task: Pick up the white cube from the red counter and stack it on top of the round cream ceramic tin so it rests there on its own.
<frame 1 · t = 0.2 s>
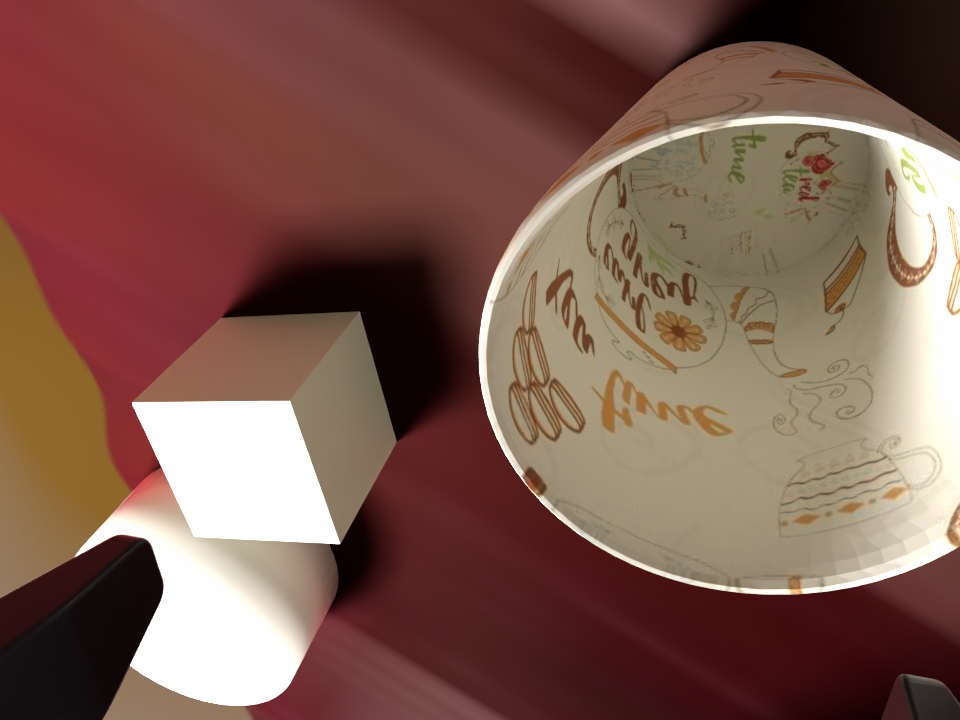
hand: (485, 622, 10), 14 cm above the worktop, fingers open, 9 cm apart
cream tin: (235, 547, 33), on the worktop
white cube: (311, 379, 28), on the worktop
mug: (837, 155, 20), on the worktop
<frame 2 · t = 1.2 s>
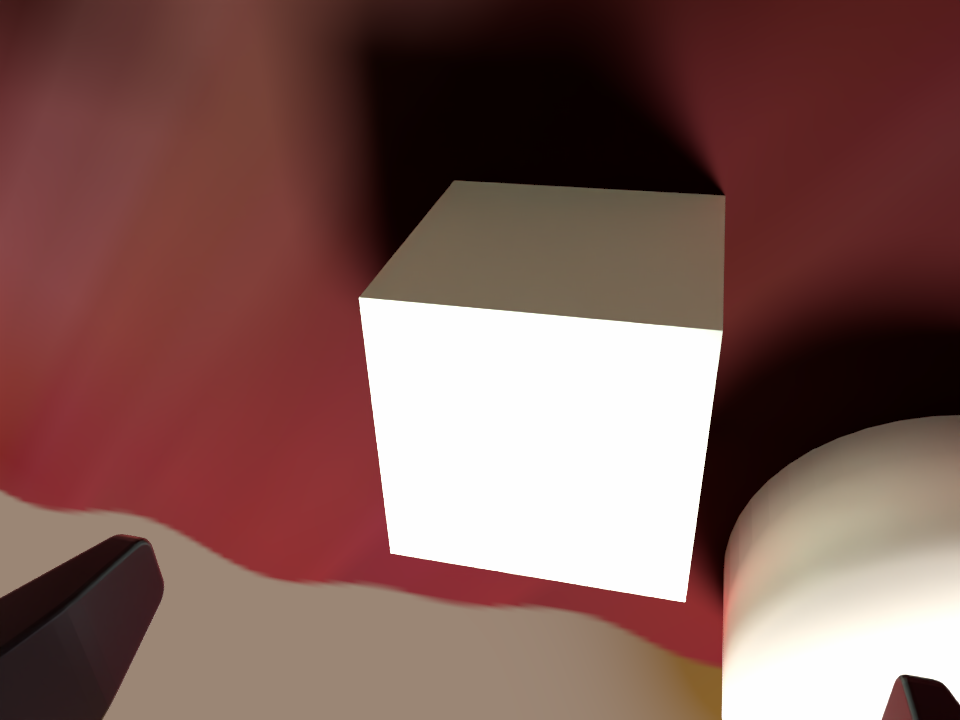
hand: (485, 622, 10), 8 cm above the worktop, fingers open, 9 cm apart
cream tin: (939, 581, 18), on the worktop
white cube: (581, 305, 17), on the worktop
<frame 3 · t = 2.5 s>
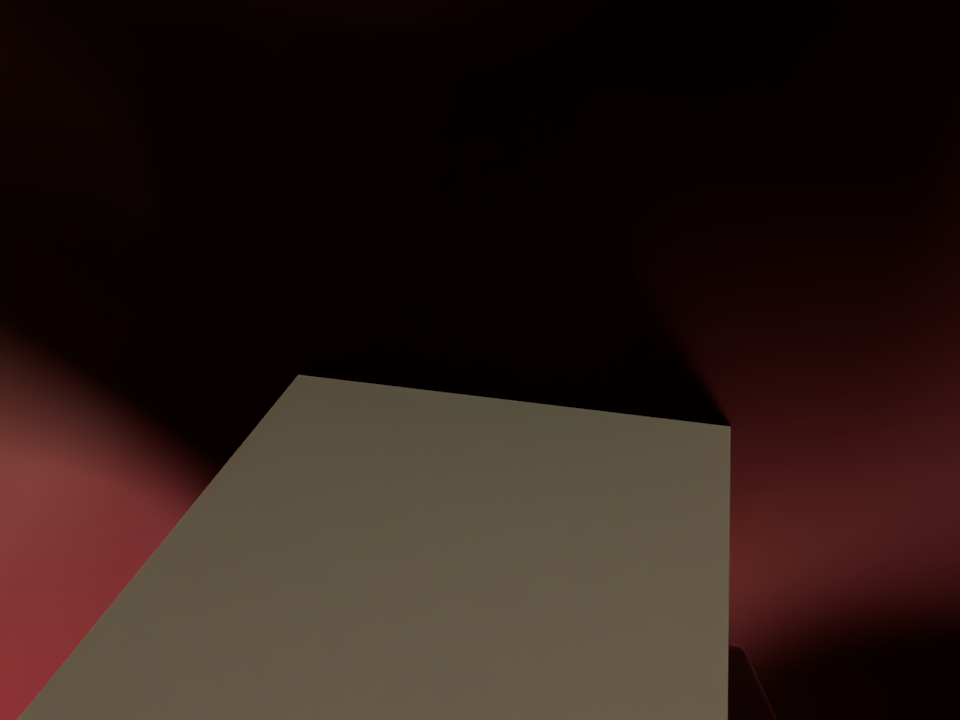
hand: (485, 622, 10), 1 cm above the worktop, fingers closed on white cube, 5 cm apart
white cube: (505, 559, 11), on the worktop, touching gripper
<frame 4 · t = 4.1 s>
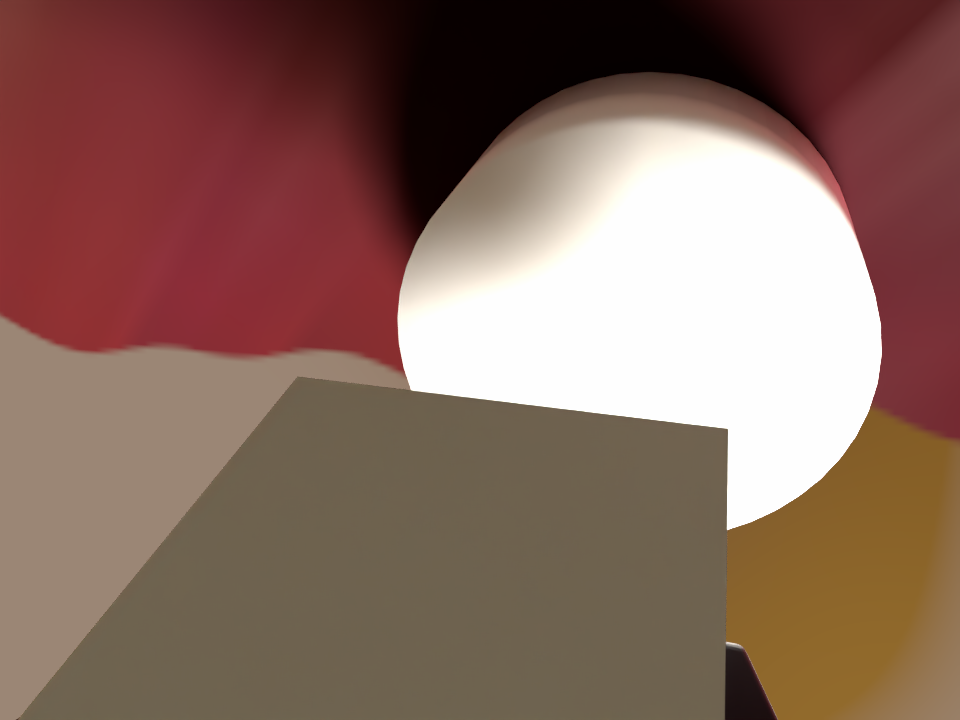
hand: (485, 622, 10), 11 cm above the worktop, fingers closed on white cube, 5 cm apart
cream tin: (640, 272, 19), on the worktop
white cube: (503, 560, 11), point 10 cm above the worktop, touching gripper
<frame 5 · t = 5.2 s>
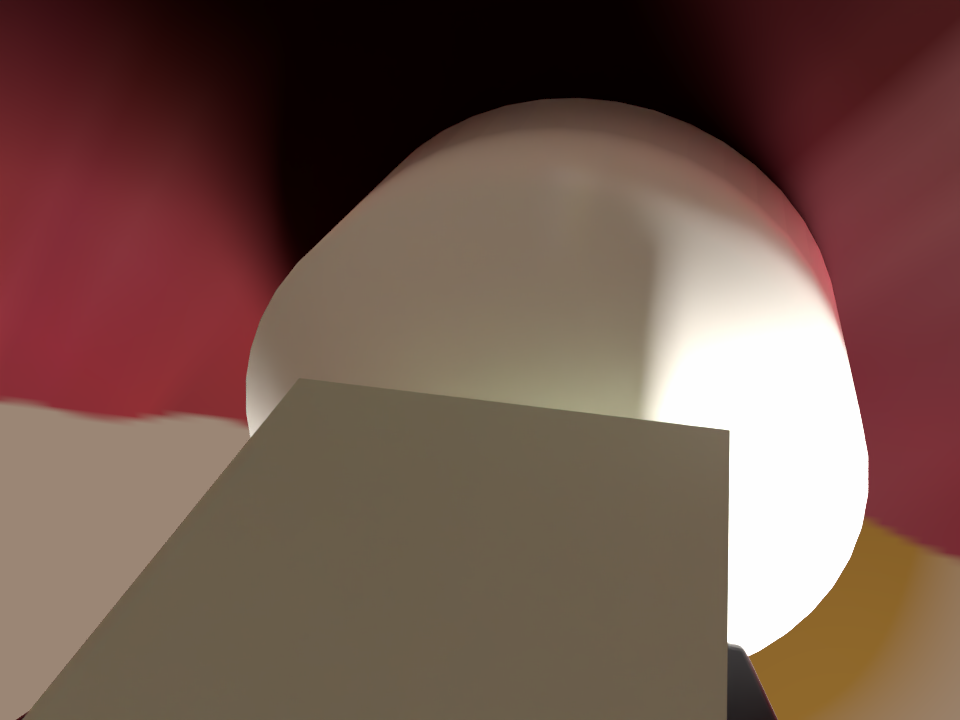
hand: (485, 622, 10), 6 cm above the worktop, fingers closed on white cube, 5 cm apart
cream tin: (573, 342, 15), on the worktop
white cube: (505, 561, 11), point 5 cm above the worktop, touching gripper
when the fingers open (6 cm above the worktop, at t = 5.8 s): white cube drops 2 cm, resting on cream tin.
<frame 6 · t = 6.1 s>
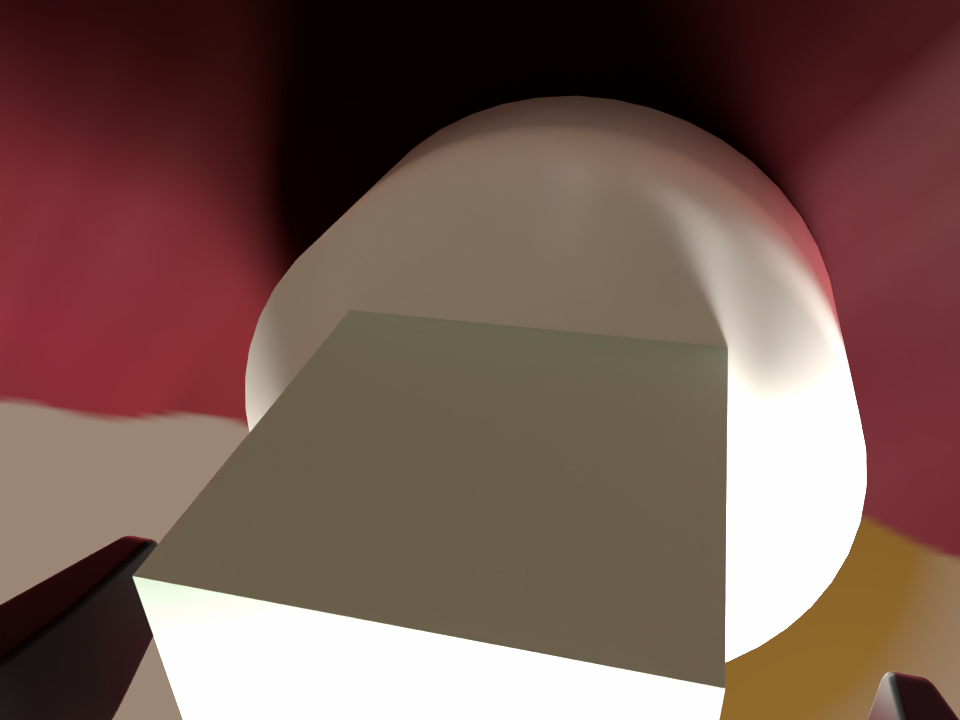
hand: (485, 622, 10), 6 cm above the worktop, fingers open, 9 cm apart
cream tin: (572, 340, 15), on the worktop, touching white cube
white cube: (529, 476, 12), point 4 cm above the worktop, touching cream tin
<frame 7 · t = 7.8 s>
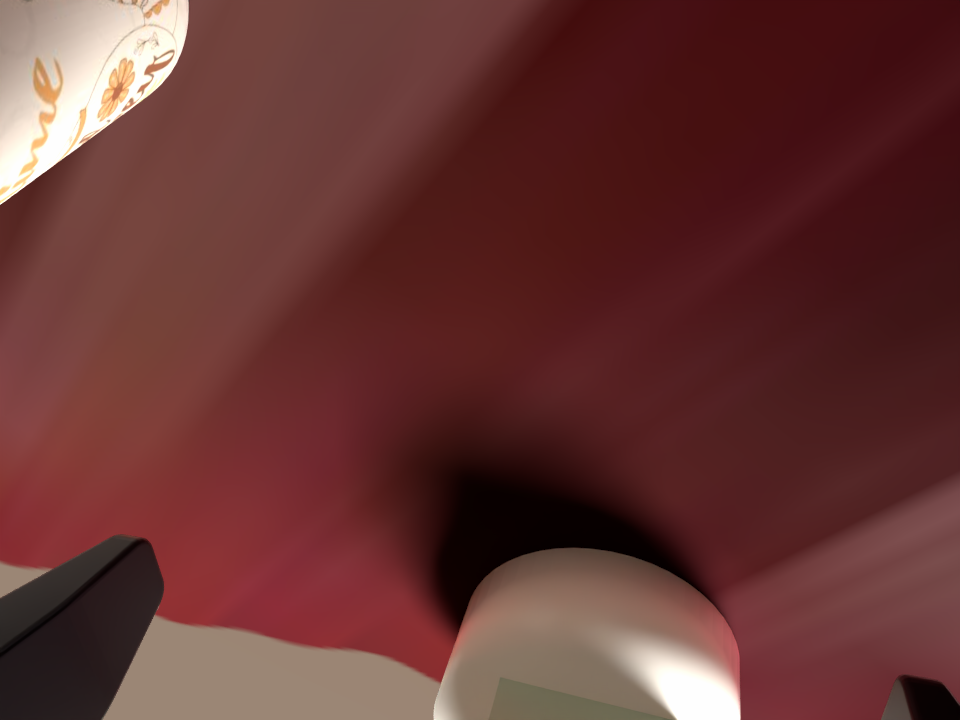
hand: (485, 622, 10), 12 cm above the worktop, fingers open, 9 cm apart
cream tin: (598, 643, 28), on the worktop, touching white cube
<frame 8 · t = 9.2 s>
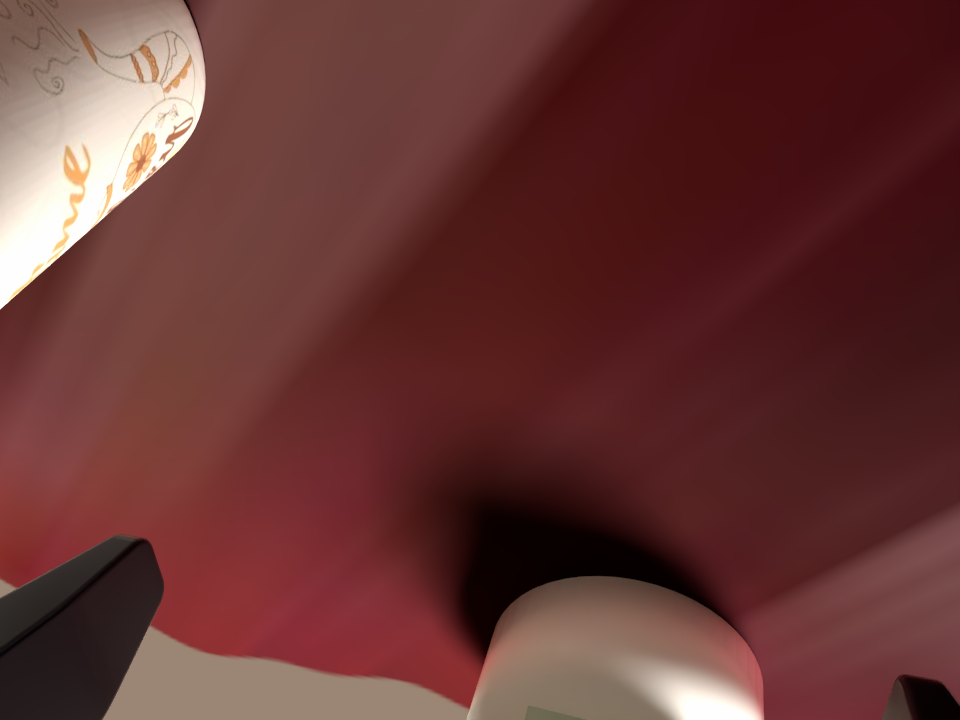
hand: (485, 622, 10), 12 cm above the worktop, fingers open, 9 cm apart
cream tin: (622, 667, 28), on the worktop, touching white cube
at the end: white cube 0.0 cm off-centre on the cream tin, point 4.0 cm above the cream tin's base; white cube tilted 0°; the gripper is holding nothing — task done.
